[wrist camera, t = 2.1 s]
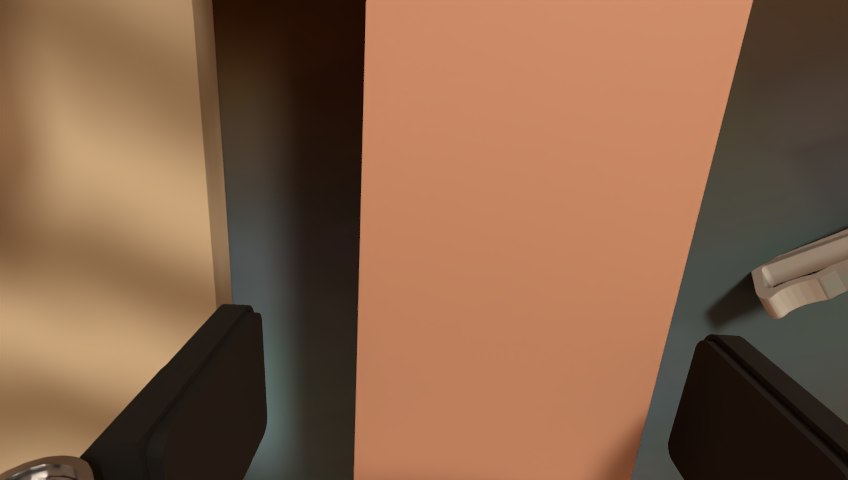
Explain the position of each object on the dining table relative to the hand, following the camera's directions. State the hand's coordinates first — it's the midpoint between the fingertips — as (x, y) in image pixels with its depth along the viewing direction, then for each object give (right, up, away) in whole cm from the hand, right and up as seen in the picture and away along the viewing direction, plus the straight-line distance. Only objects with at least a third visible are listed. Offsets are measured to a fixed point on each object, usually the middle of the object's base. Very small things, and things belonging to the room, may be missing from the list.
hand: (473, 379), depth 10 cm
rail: (+1, +1, +6) cm, 7 cm away
